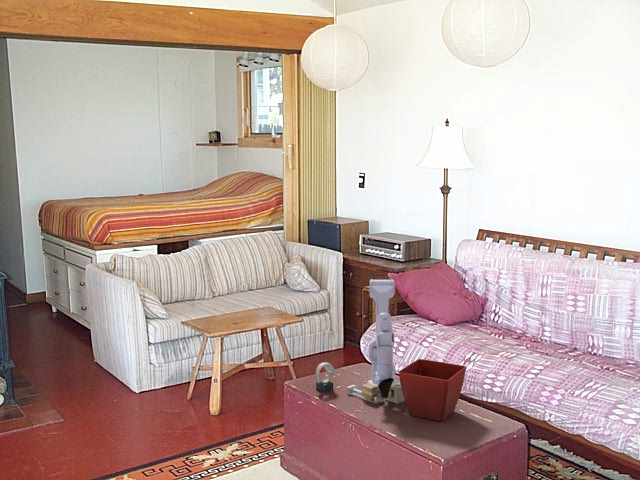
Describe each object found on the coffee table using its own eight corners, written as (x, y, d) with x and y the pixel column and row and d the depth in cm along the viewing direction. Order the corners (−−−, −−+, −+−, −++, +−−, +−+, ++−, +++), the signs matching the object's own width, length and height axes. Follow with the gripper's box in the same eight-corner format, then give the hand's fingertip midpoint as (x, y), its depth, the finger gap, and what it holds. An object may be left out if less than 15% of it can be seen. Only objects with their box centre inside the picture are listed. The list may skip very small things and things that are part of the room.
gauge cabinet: (395, 395, 286) (395, 380, 285) (407, 399, 281) (407, 383, 280) (385, 399, 282) (385, 383, 281) (396, 403, 277) (397, 387, 276)
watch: (337, 389, 293) (337, 362, 292) (321, 393, 288) (321, 366, 286) (327, 385, 297) (327, 359, 296) (312, 390, 292) (312, 363, 291)
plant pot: (418, 400, 281) (418, 357, 278) (466, 409, 271) (467, 365, 269) (396, 416, 265) (397, 371, 262) (447, 427, 255) (448, 380, 252)
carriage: (369, 393, 285) (369, 382, 284) (379, 396, 281) (379, 385, 280) (361, 396, 282) (361, 385, 281) (371, 399, 278) (371, 388, 277)
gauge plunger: (395, 392, 283) (396, 385, 283) (401, 394, 281) (402, 387, 281) (384, 397, 279) (384, 389, 278) (390, 399, 277) (390, 391, 276)
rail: (354, 391, 291) (354, 384, 290) (383, 401, 279) (383, 394, 279) (347, 393, 288) (347, 386, 287) (376, 404, 277) (376, 397, 276)
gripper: (383, 355, 283) (383, 389, 285) (366, 366, 270) (366, 401, 272) (400, 358, 279) (400, 393, 281) (383, 369, 267) (383, 405, 269)
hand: (384, 397), depth 276 cm, fingers closed
